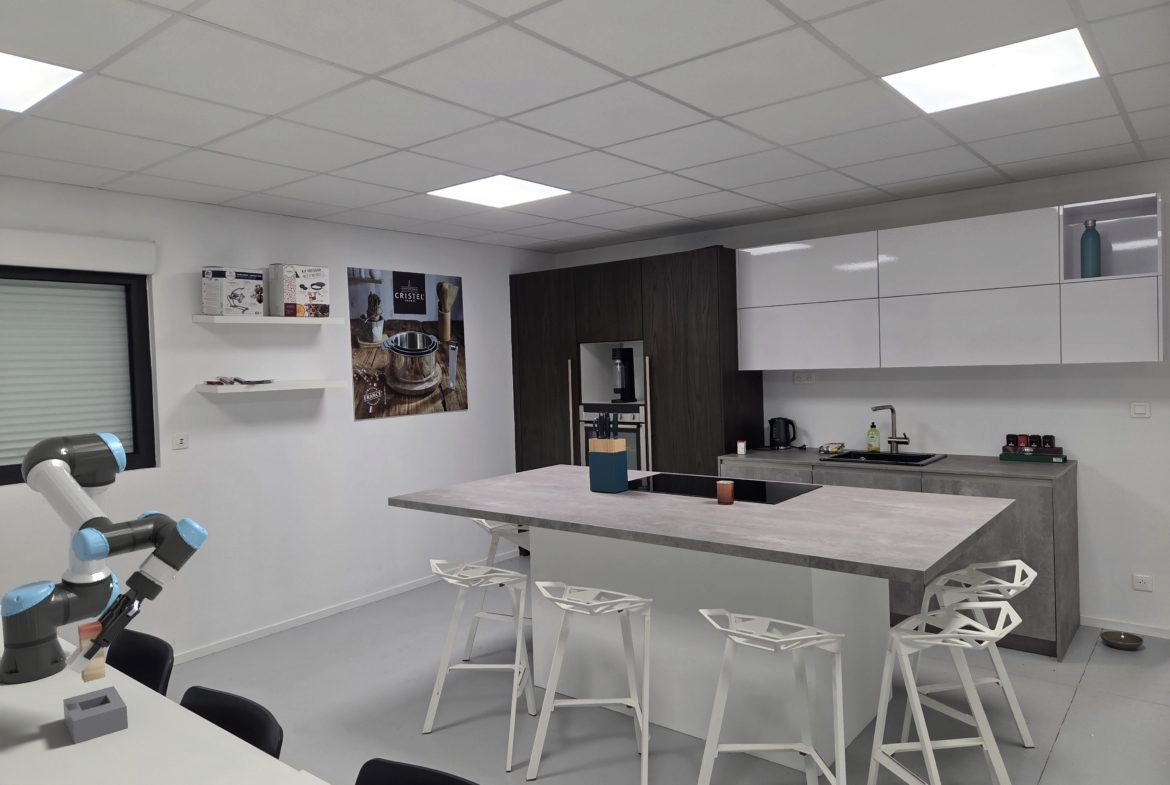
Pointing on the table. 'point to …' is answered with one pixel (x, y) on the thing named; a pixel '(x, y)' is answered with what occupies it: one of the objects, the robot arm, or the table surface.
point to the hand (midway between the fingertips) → (72, 667)
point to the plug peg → (97, 663)
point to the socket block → (95, 714)
